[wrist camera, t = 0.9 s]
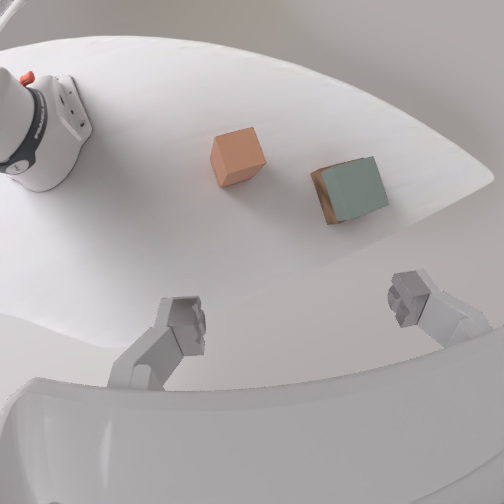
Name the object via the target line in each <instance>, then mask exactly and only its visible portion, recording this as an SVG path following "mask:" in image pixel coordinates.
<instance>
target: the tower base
mask: <svg viewBox="0 0 504 504" xmlns="http://www.w3.org/2000/svg"><path fill="white" fill-rule="evenodd" d="M360 159H364V158H360ZM360 159H356V160H360ZM356 160H352V161H356ZM352 161H348V162H344V163H340V164H336V165H332V166H329V167H325V168H321V169H318V170H317V171H315V172H313V173H311V177H312V179H313V182H314V185H315V188H316V191H317V194H318V197H319V200H320V203H321V206H322V209H323V212H324V216H325V219H326V222H327V225H329V224H338V223H341V222H344V221H347V220H344V221H337V219H336V216H335V213H334V209H333V206H332V203H331V200H330V197H329V194H328V191H327V188H326V186H325V183H324V180H323V177H322V174H321V172H323V171H325V170H327V169H329V168H331V167H334V166H337V165H341V164H345V163H349V162H352Z"/></svg>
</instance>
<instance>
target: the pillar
mask: <svg viewBox="0 0 504 504" xmlns="http://www.w3.org/2000/svg"><path fill="white" fill-rule="evenodd" d="M210 160H211V163H212V166H213V169H214V172H215V175H216V177H217V180H218V183H219V186H220V188H222V187H226V186H229V185H232V184H235V183H238V182H241V181H245V180H248V179H251V178H252V177H253V176H254V175H255V174H256V173H257V172H258V171H259V170H260V169H261V168H262V166H263V165H264V164H265V163H266V160H265V158H264V155H263V152H262V149H261V147H260V144H259V141H258V139H257V136H256V133H255V131H254V128H253V127H251V128H246V129H242V130H239V131H235V132H231V133H227V134H224V135H220V136H216V137H215V139H214V143H213V148H212V152H211V157H210Z"/></svg>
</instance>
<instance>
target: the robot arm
mask: <svg viewBox="0 0 504 504" xmlns="http://www.w3.org/2000/svg"><path fill="white" fill-rule="evenodd" d="M13 1H14V0H0V18H1V16H2V15H3V14H4V13H5V11H6V10H7V9H8V7H9V6H10V5H11V4H12V2H13ZM57 80H58V81H57ZM82 124H84V126H83V127H81V126H82ZM91 132H92V126H91V124H90V122H89V119H88V117H87V115H86V112H85V110H84V107H83V105H82V103H81V100H80V98H79V95H78V93H77V90H76V87H75V85H74V82H73V80H72V78H71V76H70V75H58V76H55V77H53V76H51V75H46V76H42V77H39V78H37V79H35V77H34V74H33V72H32V71H29V72H28V73H27V74H25V75H24V76H21V77H20V82H19V81H18V80H17V79H16V78H15V77H14V76H13V75H12V74H11V73H10V72H9V71H8V70H7V69H5V68H3V67H0V173H5V174H6V175H7V176H8V177H9V178H11V179H14V180H17V181H19V182H20V183H21V184H22V185H23V186H24V187H26V188H27V189H29V190H31V191H35V192H42V191H46V190H49V189H51V188H53V187H55V186H56V185H58V184H59V183H60V182H61V181H62V180H63V179H64V178H65V177H66V176H67V175H68V174H69V172H70V171H71V169H72V168H73V166H74V164H75V162H76V160H77V157H78V154H79V152H80V149H81V147H82V145H83V144H84V142H85V141H86V140H87V139H88V137H89V136H90V134H91ZM392 283H393V285H392V286H391V288H390V289H389V292H388V303H389V306H390V308H391V310H393V311H394V312H396V316H395V317H396V319H397V321H398V323H399V325H400V327H401V328H403V327H407V326H412V325H417V326H418V327H419V328H421V329H422V330H423V331H424V332H426V333H427V334H428V335H429V336H431V337H432V338H433V339H434V340H436V341H437V342H438V343H439V344H441V345H442V346H443V347H444V349H441V350H439V351H436V352H432V353H429V354H426V355H423V356H420V357H416V358H413V359H410V360H406V361H403V362H399V363H395V364H392V365H388V366H384V367H380V368H376V369H371V370H367V371H363V372H358V373H354V374H349V375H344V376H339V377H333V378H327V379H322V380H315V381H309V382H302V383H295V384H287V385H279V386H271V387H260V388H249V389H234V390H215V391H165V389H164V388H163V385H164V383H165V382H166V381H167V379H168V378H169V377H170V375H171V374H172V372H173V371H174V370H175V368H176V367H177V366H178V364H179V363H180V362H181V360H182V359H183V356H194V355H195V356H196V355H204V345H205V341H204V338H203V335H204V334H205V332H206V325H205V324H206V323H205V316H204V312H203V310H201V301H200V298H199V296H188V297H172V298H162V299H161V301H160V305H159V309H158V313H157V317H156V321H155V325H154V327H151V328H150V329H148V330H147V331H146V332H145V333H144V334H143V335H142V336H141V337H140V338H139V339H138V340H137V341H136V342H135V343H134V344H133V345H132V346H131V347H130V348H128V350H127V351H125V352H124V353H123V354H122V355H121V356H120V357H119V358H118V359H117V360H116V361H115V362H114V363H113V366H112V370H111V373H110V377H109V380H108V384H107V387H98V386H89V385H82V384H74V383H68V382H61V381H56V380H51V379H46V378H40V377H35V378H32V379H31V380H29V381H28V382H26V383H25V384H24V385H22V386H21V387H20V388H19V389H18V390H17V391H15V392H14V393H13V394H12V395H11V396H10V397H9V398H8V399H7V401H6V403H5V405H4V407H3V409H2V411H1V413H0V504H504V325H502V326H500V327H498V328H495V329H493V328H492V326H491V325H490V323H489V322H488V320H487V319H486V318H485V316H484V315H483V313H482V312H480V311H479V310H477V309H475V308H474V307H472V306H470V305H468V304H467V303H465V302H463V301H461V300H459V299H458V298H456V297H454V296H452V295H450V294H448V293H447V292H445V291H441V290H440V289H439V288H438V286H437V285H436V284H435V283H434V281H433V280H432V278H431V277H430V276H429V274H428V273H427V272H426V271H425V270H424V269H419V270H414V271H409V272H403V273H397V274H394V275H393V277H392Z"/></svg>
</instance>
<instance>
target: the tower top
mask: <svg viewBox="0 0 504 504" xmlns="http://www.w3.org/2000/svg"><path fill="white" fill-rule="evenodd" d="M321 174H322V177H323V180H324V183H325V186H326V188H327V191H328V194H329V197H330V200H331V203H332V206H333V209H334V213H335V216H336V219H337V221H344V220H351V219H354V218H356V217H359V216H362V215H364V214H367V213H369V212H372V211H375V210H377V209H380V208H382V207H385V206H388V205H389V202H388V199H387V196H386V192H385V189H384V186H383V183H382V180H381V177H380V174H379V171H378V168H377V165H376V162H375V159H374V157H373V156H372V157H368V158H364V159H360V160H356V161H352V162H349V163H345V164H341V165H337V166H334V167H331V168H329V169H327V170H325V171H323V172H321Z"/></svg>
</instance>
